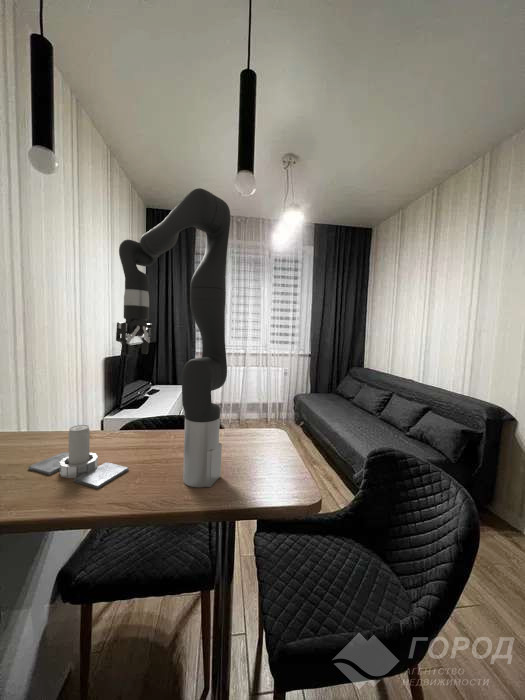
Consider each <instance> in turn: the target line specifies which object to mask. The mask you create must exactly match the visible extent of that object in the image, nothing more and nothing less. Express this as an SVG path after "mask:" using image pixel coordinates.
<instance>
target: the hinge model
mask: <svg viewBox="0 0 525 700" xmlns="http://www.w3.org/2000/svg"><path fill="white" fill-rule="evenodd" d="M98 457H99V456H98V455H97V453H94V452H90V451H89V461H88V462H86V463H83V464H79V465H69V452H66V451H63V452H61V453H58V454H55V455H53V456H50V457H48V458H45V459H44V460H43V459H42V460H40V461H38V462H36V463H33V464H30V465H29V466H28V470H31V471H34V472H37V473H40V474H45V475H47V476H50V475H53V474H55V473H57V472H59V476H60V477H61V478H66V479H73V483H76V484H79V485H83V486H86V487H90V488H94V489H97V490H98V489H100V488H102V487H103V486H106V484H108V483H110V482H111V481H113V480H115V479H116V478H119V476H121V475H123V474H125V473H126V472H128V471H129V467H128V466H123V465H120V464H116V463H111V462H107V461H106V462H103V463H102V464H100V465H98V464H99V463H98V462H99V461H98Z"/></svg>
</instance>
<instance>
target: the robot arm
mask: <svg viewBox="0 0 525 700" xmlns="http://www.w3.org/2000/svg"><path fill="white" fill-rule="evenodd" d="M192 227H193V228H195V229H196V230H199V231H201V232H203V233H205V249H204V255H203V257H202V259H201V261H200V262H199V264H198V266H197V268H196V270H195V271H194V273H193V275H192V277H191V280H190V285H189V286H190V288H189V290H190V291H189V292H190V293H189V301H190V302H189V303H190V304H189V305H190V310H191V314H192V316H193V317H192V318H193V319H194V321H195V324H196V326H197V328H198V331H199V333H200V336H201V344H202V345H201V346H202V347H201V348H202V349H201V350H202V351H201V357H197V358H192V359H190V360H188V361H186V363H185V364H184V366H183V369H182V373H181V398H182V399H181V401H182V403H181V404H182V408H183V410H184V430H183V431H184V436H183V437H184V438H183V439H184V440H183V468H182V469H183V470H182V474H183V475H182V481H183V483H184V484H185V485H187V486H189V487H192V488H205V487H206V488H212V486H213V485H214V484H215V483H216V482H217V481H218V479H220V477H221V476H222V475H221V474H222V473H221V471H222V470H221V468H222V452H223V451H222V446H223V445H222V443H221V442H220V423H221V421H220V420H221V407H220V406H219V405H218V404H216V403H214V402H213V401H212V391H215V390H218V389H220V388H222V387H223V386H224V384H225V383H226V381H227V377H228V363H227V351H226V299H227V298H226V297H227V296H226V293H227V292H226V290H227V287H226V285H227V284H226V283H227V281H226V280H227V279H226V276H227V274H226V273H227V255H228V244H229V238H230V237H229V236H230V229H231V210H230V207H229V205H228V203H227V202H226V201H224V199H222V198H220V197H219V196H217V195H215V194H213V193H212V192H210V191H208V190H206V189H203V188H199V187H198V188H194V189H193V190H191V191H189V193H187V194H186V195H185V196H184V197H183V198H182V199H181V200H180V201H179V202H178V204H177V205H175V207H174V208H173V209H172V210H171V211H170V212H169V214H167V216H166V217H165V218H164V219H163V220H162V221H161V222H160V223H158V224H157V225H156V226H154V227H153V228H151V229H149V231H148V230H147V232H145V233H144V234H143V235H141V237H140V239H139V241H137V240H133V239H128V238H126V239H123V240H122V241H121V243H119V244H120V245H119V247H118V254H119V260H120V263H121V266H122V270H123V275H124V295H123V319H124V320H125V322H123V321H118V322H116V332H115V341H116V342H119V343H120V344H121V354H122V355H121V356H125V357H128V356H130V354H131V353H130V351H131V350H130V349H131V347H130V345H131V344H130V343H131V341H132V340H133V339H134V338H135V337H138V338H139V339H140V340H141V349H140V351H141V354H142V355H147V354H148V353H149V348H150V347H149V345H150V342H154V324H153V323H147V321H149V319H150V294H149V289H150V287H149V286H150V285H149V283H150V281H149V279H150V277H149V275H147V274H146V273H145V272H143V271H141V270H139V267H138V266H140V267H150V266H153V265H154V263H156V261H157V260H158V258H159V257H160V256H161V255H163V254H164V253H166V252H168V251H169V250H171V249H172V248H174V247H175V246H176V244H177V241H178V239H179V234H180V232H181V231H183V230H185V229H188V228H192Z"/></svg>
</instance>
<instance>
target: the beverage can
mask: <svg viewBox="0 0 525 700" xmlns="http://www.w3.org/2000/svg"><path fill="white" fill-rule="evenodd" d="M90 430H91V429H90V426H89V425H87V424H80V425H79V424H78V425H74V426H71V427H69V430H68V453H69V465H79V464H83V463H86V462H88V461H89V453H90Z"/></svg>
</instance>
